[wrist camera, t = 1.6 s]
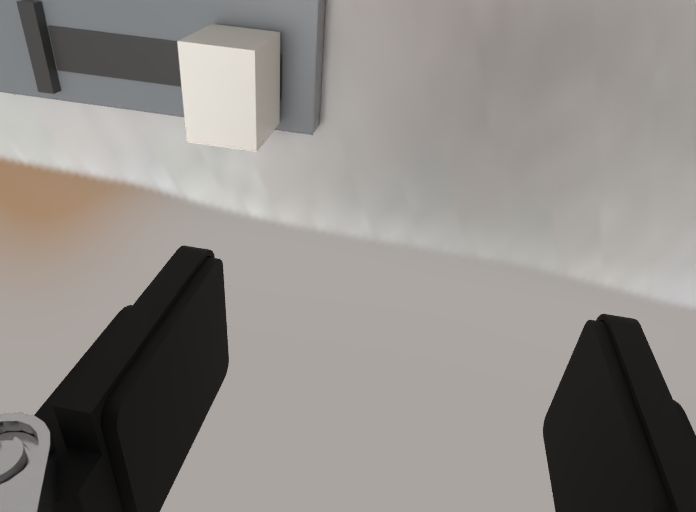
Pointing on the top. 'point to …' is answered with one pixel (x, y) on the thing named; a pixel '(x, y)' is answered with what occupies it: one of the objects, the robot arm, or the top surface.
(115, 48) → the breaker board
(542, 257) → the top surface
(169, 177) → the top surface
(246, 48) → the block
